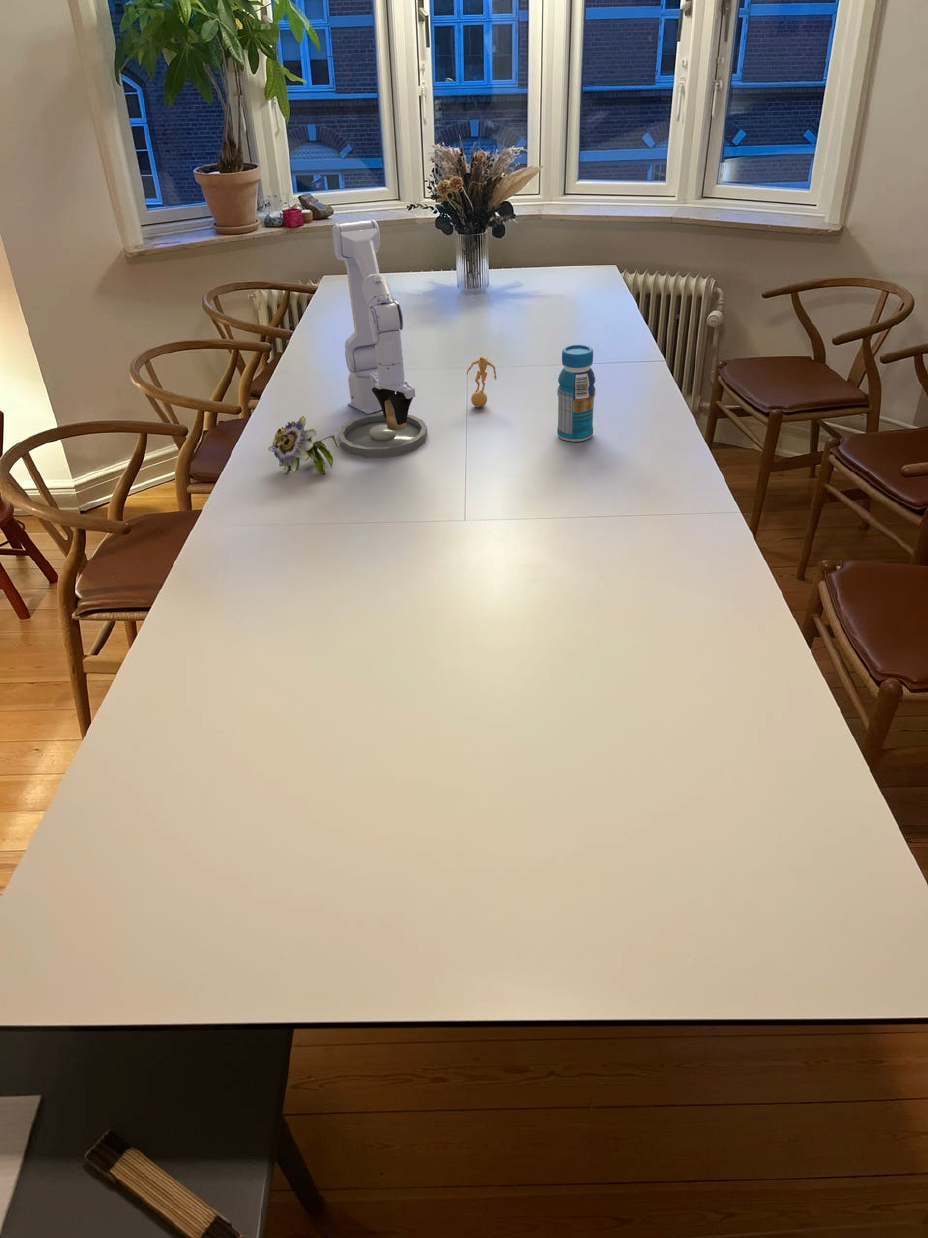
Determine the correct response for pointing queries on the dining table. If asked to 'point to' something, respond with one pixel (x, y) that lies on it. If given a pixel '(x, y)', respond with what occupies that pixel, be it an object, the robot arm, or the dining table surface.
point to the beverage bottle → (576, 394)
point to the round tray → (381, 449)
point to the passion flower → (299, 447)
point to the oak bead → (392, 417)
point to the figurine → (479, 396)
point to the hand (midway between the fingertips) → (395, 420)
